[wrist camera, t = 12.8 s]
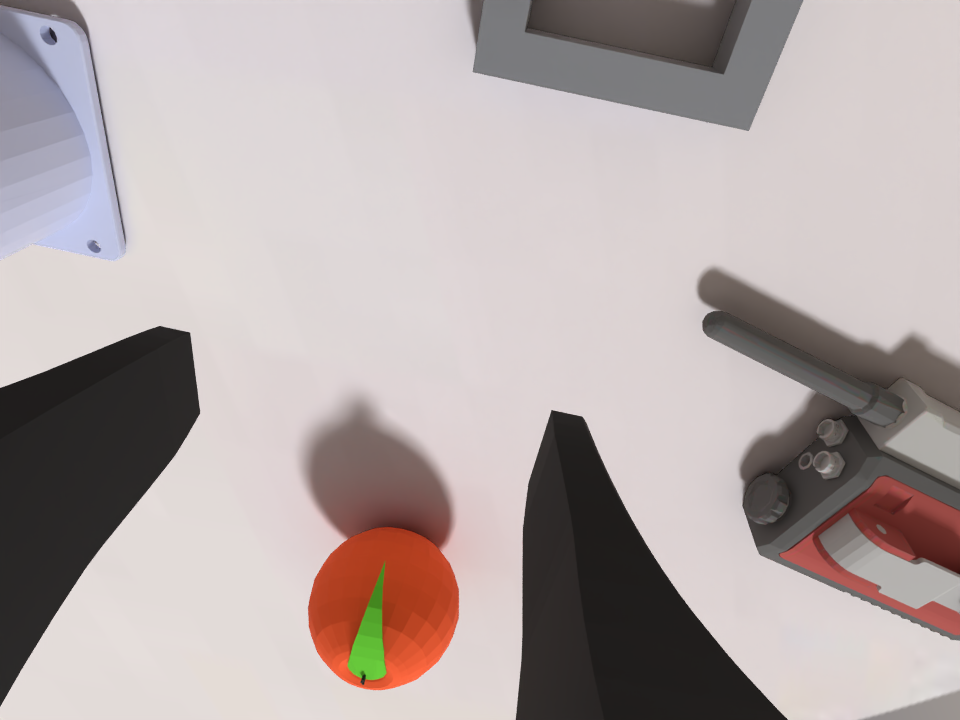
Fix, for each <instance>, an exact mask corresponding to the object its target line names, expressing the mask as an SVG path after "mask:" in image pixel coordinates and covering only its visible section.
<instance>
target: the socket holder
mask: <svg viewBox="0 0 960 720" xmlns="http://www.w3.org/2000/svg"><path fill="white" fill-rule="evenodd" d="M532 2H533V0H484V1H483V8H482V15H481V21H480V28H479V34H478V41H477V47H476V54H475V61H474V67H473V72H475V73H480V74H484V75H489V76H494V77H498V78H503V79H508V80H512V81H517V82H522V83H527V84H531V85H536V86H541V87H545V88H550V89H555V90H559V91H564V92H569V93H573V94H578V95H583V96H588V97H592V98H597V99H602V100H606V101H611V102H616V103H620V104H625V105H630V106H634V107H639V108H644V109H648V110H653V111H658V112H663V113H667V114H672V115H677V116H681V117H686V118H691V119H695V120H700V121H705V122H709V123H714V124H719V125H724V126H728V127H733V128H738V129H742V130H747V131H749V129H750V127H751V124H752V122H753V120H754V117H755V115H756V112H757V110H758V108H759V105H760V103H761V100H762V98H763V96H764V93H765V91H766V88H767V86H768V84H769V81H770V79H771V76H772V74H773V72H774V69H775V67H776V64H777V62H778V60H779V57H780V55H781V53H782V50H783V48H784V45H785V43H786V41H787V38H788V36H789V33H790V31H791V29H792V26H793V24H794V21H795V19H796V17H797V14H798V12H799V9H800V7H801V5H802V2H803V0H736V2H735V5H734V8H733V11H732V13H731V16H730V19H729V22H728V24H727V27H726V30H725V33H724V35H723V38H722V41H721V44H720V47H719V49H718V52H717V55H716V58H715V60H714V63H713V66H712V67H708V66H703V65H699V64H694V63H689V62H685V61H680V60H675V59H671V58H666V57H661V56H656V55H652V54H647V53H642V52H638V51H633V50H628V49H624V48H619V47H614V46H610V45H605V44H600V43H595V42H591V41H586V40H581V39H577V38H572V37H567V36H563V35H558V34H553V33H548V32H544V31H539V30H534V29H530V28H528V23H529V17H530V12H531V7H532Z"/></svg>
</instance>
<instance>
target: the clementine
mask: <svg viewBox="0 0 960 720" xmlns="http://www.w3.org/2000/svg"><path fill="white" fill-rule="evenodd" d="M308 616H309V629H310V632H311V636H312V639H313V642H314V644H315V647H316V650H317V652H318V654H319V655H320V657H321V658H322V660H323V661H324V662H325V663H326V664H327V666H328V667H329V668H330V669H331V670H332V671H333V672H334V673H335V674H336V675H337V676H338V677H340V678H341V679H342V680H344V681H346V682H347V683H349V684H352V685H354V686H357V687H360V688H364V689H370V690H385V689H390V688H395V687H398V686H401V685H404V684H407V683H409V682H412V681H414V680H416V679H418V678H419V677H420V676H421V675H423V674H424V673H425V672H426V671H428V670H429V669H430V668H431V667H432V666H433V665H435V664H436V663H437V662H438V661H439V659H440V658H441V656H442V655H443V653H444V652H445V650H446V649H447V647H448V646H449V644H450V641H451V639H452V637H453V634H454V631H455V628H456V624H457V621H458V616H459V589H458V586H457V582H456V579H455V575H454V573H453V570H452V568H451V566H450V563H449V562H448V561H447V559H446V558H445V557H444V555H443V554H442V553H441V551H440V550H439V549H438V548H437V547H436V545H435V544H433V543H432V542H431V541H429V540H428V539H427V538H425V537H423V536H421V535H419V534H417V533H415V532H412V531H408V530H405V529H401V528H392V527H382V528H374V529H371V530H368V531H365V532H362V533H360V534H357V535H355V536H353V537H351V538H350V539H348V540H347V541H345V542H344V543H342V544H341V545H340V546H339V547H338V548H337V549H336V550H335V551H333V552H332V553H331V554H330V556H329V557H328V558H327V560H326V561H325V563H324V564H323V566H322V568H321V569H320V571H319V573H318V574H317V576H316V578H315V580H314V584H313V588H312V592H311V596H310V601H309V606H308Z"/></svg>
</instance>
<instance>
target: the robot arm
mask: <svg viewBox="0 0 960 720" xmlns="http://www.w3.org/2000/svg"><path fill="white" fill-rule="evenodd" d="M49 28H51V29H52V30H53V31H54V32H55V34H56V36H57V42H55V41H54V40H53V39H52V38H51V35H50V33H49ZM94 241H96V242H97V243H98V244H99V245H100V247H101V248H99V247H98V246H97V245H96V244H95V242H94ZM32 244H34V245H39V246H43V247H48V248H53V249H57V250H62V251H67V252H71V253H76V254H81V255H85V256H90V257H95V258H99V259H104V260H109V261H116V260H118V259H120V258H121V257H123V256H124V255H125V253H126V246H125V241H124V235H123V230H122V224H121V219H120V213H119V208H118V202H117V197H116V191H115V186H114V181H113V175H112V170H111V164H110V159H109V153H108V148H107V142H106V137H105V131H104V126H103V120H102V115H101V109H100V104H99V98H98V93H97V87H96V82H95V77H94V71H93V66H92V60H91V55H90V49H89V44H88V40H87V37H86V34H85V32H84V31H83V30H82V28H81V27H80V26H79V25H78V24H77V23H75V22H73V21H71V20H68V19H64V18H59V17H54V16H50V15H45V14H40V13H36V12H31V11H26V10H21V9H17V8H12V7H7V6H3V5H0V260H2V259H4V258H6V257H8V256H10V255H12V254H14V253H16V252H18V251H20V250H22V249H24V248H26V247H28V246H30V245H32ZM199 414H200V408H199V400H198V392H197V384H196V376H195V368H194V360H193V352H192V344H191V337H190V333H189V332H185V331H180V330H175V329H171V328H166V327H161V326H158V327H155V328H152V329H149V330H147V331H144V332H141V333H139V334H136V335H133V336H131V337H128V338H126V339H123V340H121V341H118V342H116V343H114V344H111V345H109V346H106V347H104V348H101V349H99V350H97V351H94V352H92V353H89V354H87V355H84V356H82V357H79V358H77V359H75V360H72V361H70V362H67V363H65V364H62V365H60V366H57V367H55V368H53V369H50V370H48V371H45V372H43V373H40V374H37V375H34V376H32V377H29V378H26V379H24V380H21V381H18V382H16V383H13V384H10V385H8V386H5V387H2V388H0V706H1V704H2V703H3V701H4V699H5V697H6V696H7V694H8V692H9V690H10V689H11V687H12V685H13V683H14V682H15V680H16V678H17V676H18V675H19V673H20V671H21V669H22V668H23V666H24V664H25V663H26V661H27V660H28V658H29V656H30V655H31V653H32V651H33V650H34V648H35V647H36V645H37V643H38V642H39V640H40V638H41V637H42V635H43V634H44V632H45V630H46V629H47V627H48V625H49V624H50V622H51V621H52V619H53V617H54V616H55V614H56V613H57V611H58V610H59V608H60V606H61V605H62V603H63V602H64V600H65V599H66V597H67V596H68V594H69V593H70V591H71V590H72V588H73V587H74V585H75V584H76V582H77V581H78V579H79V577H80V576H81V574H82V573H83V571H84V570H85V568H86V567H87V566H88V564H89V563H90V562H91V560H92V559H93V558H94V556H95V555H96V554H97V552H98V551H99V550H100V548H101V547H102V546H103V544H104V543H105V542H106V541H107V539H108V538H109V537H110V536H111V535H112V533H113V532H114V531H115V530H116V528H117V527H118V526H119V525H120V523H121V522H122V521H123V520H124V519H125V517H126V516H127V515H128V514H129V512H130V511H131V510H132V509H133V507H134V506H135V505H136V504H137V502H138V501H139V500H140V499H141V498H142V496H143V495H144V494H145V493H146V491H147V490H148V489H149V488H150V486H151V485H152V484H153V483H154V481H155V480H156V479H157V478H158V476H159V475H160V474H161V473H162V471H163V470H164V469H165V468H166V466H167V465H168V464H169V462H170V461H171V460H172V459H173V457H174V456H175V455H176V453H177V451H178V450H179V448H180V446H181V445H182V443H183V442H184V440H185V438H186V437H187V435H188V433H189V432H190V430H191V428H192V426H193V425H194V423H195V421H196V419H197V418H198V416H199ZM516 720H788V719H787V718H786V717H785V716H784V715H783V714H782V713H781V712H780V711H779V710H778V709H777V708H776V707H775V706H774V705H773V704H772V703H771V702H770V701H769V700H768V699H767V698H766V697H765V695H764V694H763V693H762V692H761V691H760V690H759V689H758V688H757V687H756V686H755V685H754V684H753V682H752V681H751V680H750V679H749V678H748V677H747V676H746V675H745V674H744V673H743V672H742V671H741V669H740V668H739V667H738V666H737V665H736V664H735V663H734V661H733V660H732V659H731V658H730V657H729V656H728V654H727V653H726V652H725V651H724V650H723V648H722V647H721V646H720V645H719V644H718V642H717V641H716V640H715V639H714V637H713V636H712V635H711V634H710V633H709V631H708V630H707V629H706V628H705V626H704V625H703V624H702V623H701V622H700V620H699V619H698V618H697V617H696V615H695V614H694V613H693V612H692V610H691V609H690V608H689V606H688V605H687V604H686V602H685V601H684V600H683V598H682V597H681V596H680V594H679V593H678V592H677V590H676V589H675V587H674V586H673V584H672V583H671V581H670V580H669V579H668V577H667V576H666V574H665V573H664V571H663V570H662V568H661V567H660V565H659V564H658V562H657V561H656V559H655V558H654V556H653V554H652V553H651V551H650V550H649V548H648V546H647V545H646V543H645V541H644V540H643V538H642V536H641V535H640V533H639V531H638V529H637V528H636V526H635V524H634V523H633V521H632V519H631V517H630V515H629V513H628V512H627V510H626V508H625V506H624V504H623V502H622V500H621V498H620V496H619V494H618V492H617V490H616V488H615V487H614V485H613V483H612V481H611V479H610V476H609V474H608V472H607V470H606V468H605V466H604V464H603V461H602V459H601V457H600V455H599V453H598V450H597V448H596V446H595V443H594V441H593V438H592V436H591V433H590V431H589V429H588V426H587V423H586V422H585V420H584V418H583V417H581V416H577V415H572V414H567V413H563V412H558V411H553V410H552V411H551V414H550V417H549V420H548V423H547V427H546V430H545V433H544V436H543V439H542V442H541V446H540V449H539V452H538V455H537V458H536V461H535V465H534V468H533V471H532V474H531V477H530V480H529V484H528V492H527V500H526V508H525V516H524V525H523V638H522V661H521V672H520V682H519V693H518V703H517V713H516Z"/></svg>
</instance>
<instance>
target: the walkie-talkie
mask: <svg viewBox="0 0 960 720" xmlns="http://www.w3.org/2000/svg"><path fill="white" fill-rule="evenodd" d="M703 331H704V333H705V334H706V335H707V336H708V337H710V338H712V339H714V340H716V341H718V342H720V343H722V344H724V345H726V346H728V347H730V348H732V349H734V350H736V351H738V352H740V353H742V354H744V355H746V356H748V357H750V358H752V359H753V360H755V361H757V362H759V363H761V364H763V365H765V366H767V367H769V368H771V369H773V370H775V371H777V372H779V373H781V374H783V375H785V376H787V377H789V378H791V379H793V380H795V381H797V382H799V383H801V384H803V385H805V386H807V387H809V388H811V389H813V390H815V391H817V392H819V393H821V394H823V395H825V396H827V397H829V398H831V399H833V400H835V401H837V402H839V403H841V404H843V405H845V406H847V407H848V408H849V410H850V412H851V413H852V414H855V415H857V416H851V417H842V418H840V419H839V420H837V421H833V420H832V419H826V420H823V421H822V422H821V423H820V424H819V426H818V428H817V434H818V435H820V436H819V438H818V439H817V440H816V441H814V442H813V443H812V444H811V445H810V446H809V447H808V448H807V449H805V450H804V451H803V452H802V453H801V454H800V455H799V456H798V457H796V458H795V459H794V460H793V461H792V462H791V463H790V464H789V465H787V466H786V467H785V468H784V469H783V470H782V471H781V472H779V473H778V474H777V475H774V474H772V473H767V474H763V475H761V476H759V477H757V478H756V479H755V480H754V481H753V482H752V483H751V484H750V486H749V488H748V490H747V492H746V494H745V498H744V504H743V505H742V506H743V509H744V512H745V515H746V518H747V521H748V524H749V527H750V530H751V533H752V536H753V539H754V542H755V545H756V547H757V550H758V552H759V554H760V555H761V556H764V557H766V558H768V559H770V560H773V561H775V562H777V563H779V564H782V565H784V566H786V567H788V568H791V569H793V570H795V571H797V572H800V573H802V574H804V575H806V576H809V577H811V578H813V579H815V580H818V581H820V582H822V583H824V584H827V585H829V586H831V587H834V588H836V589H838V590H840V591H843V592H848V593H850V594H851V595H852V596H855V597H859V598H861V600H863V601H868V602H870V603H871V604H872V605H875V606H879V607H881V609H883V610H888V611H890V612H891V613H892V614H897V615H899V616H901V618H904V619H908V620H910V621H911V622H913V623H917V624H920V625H921V626H922V627H924V628H929V629H930V630H931V631H933V632H938V633H940V635H942V636H947V637H949V638H950V639H951V640H960V412H959V411H957V410H955V409H953V408H951V407H949V406H947V405H945V404H943V403H942V402H940V401H938V400H936V399H934V398H932V397H930V396H928V395H926V394H925V392H924V391H923V390H922V389H921V388H920V387H919V386H918V385H916V384H914V383H912V382H910V381H908V380H906V379H904V378H899V379H898V380H897V381H896V382H895V383H893V384H892V385H891V386H890V387H889V388H888V389H887V390H886V389H884V388H883V387H881V386H879V385H877V384H875V383H873V382H863V381H861V380H859V379H857V378H855V377H853V376H851V375H849V374H847V373H845V372H843V371H841V370H839V369H837V368H835V367H833V366H831V365H829V364H827V363H825V362H823V361H821V360H819V359H817V358H815V357H813V356H811V355H809V354H807V353H805V352H803V351H801V350H799V349H798V348H796V347H794V346H792V345H790V344H788V343H786V342H784V341H781V340H780V339H778V338H776V337H774V336H772V335H770V334H768V333H766V332H764V331H762V330H760V329H758V328H756V327H754V326H752V325H750V324H748V323H746V322H744V321H742V320H740V319H738V318H736V317H734V316H732V315H730V314H728V313H726V312H723V311H713V312H711V313H708V314H707V315H706V316H705V318H704V320H703Z"/></svg>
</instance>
